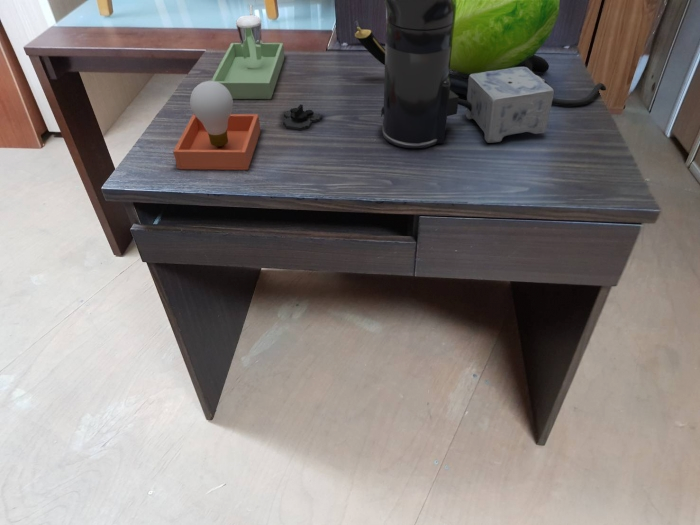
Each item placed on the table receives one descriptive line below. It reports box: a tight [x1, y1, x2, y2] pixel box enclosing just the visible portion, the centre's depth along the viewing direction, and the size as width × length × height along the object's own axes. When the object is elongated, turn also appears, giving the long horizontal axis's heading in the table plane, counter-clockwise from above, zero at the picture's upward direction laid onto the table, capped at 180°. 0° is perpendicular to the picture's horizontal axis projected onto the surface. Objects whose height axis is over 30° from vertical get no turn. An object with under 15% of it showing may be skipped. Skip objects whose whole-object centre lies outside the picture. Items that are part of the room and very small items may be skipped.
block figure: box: [282, 104, 322, 131], centre depth 88 cm, size 6×2×6 cm
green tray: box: [210, 42, 285, 100], centre depth 101 cm, size 10×18×3 cm, turn 178°
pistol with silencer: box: [354, 26, 469, 96], centre depth 93 cm, size 4×25×11 cm, turn 53°
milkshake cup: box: [235, 4, 263, 69], centre depth 102 cm, size 4×5×10 cm
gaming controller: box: [513, 54, 550, 85], centre depth 97 cm, size 11×4×7 cm
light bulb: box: [189, 80, 234, 148], centre depth 79 cm, size 6×6×10 cm
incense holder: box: [465, 67, 555, 144], centre depth 84 cm, size 10×8×10 cm
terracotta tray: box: [173, 113, 261, 171], centre depth 82 cm, size 10×11×3 cm
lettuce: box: [450, 0, 561, 76], centre depth 91 cm, size 15×23×16 cm
